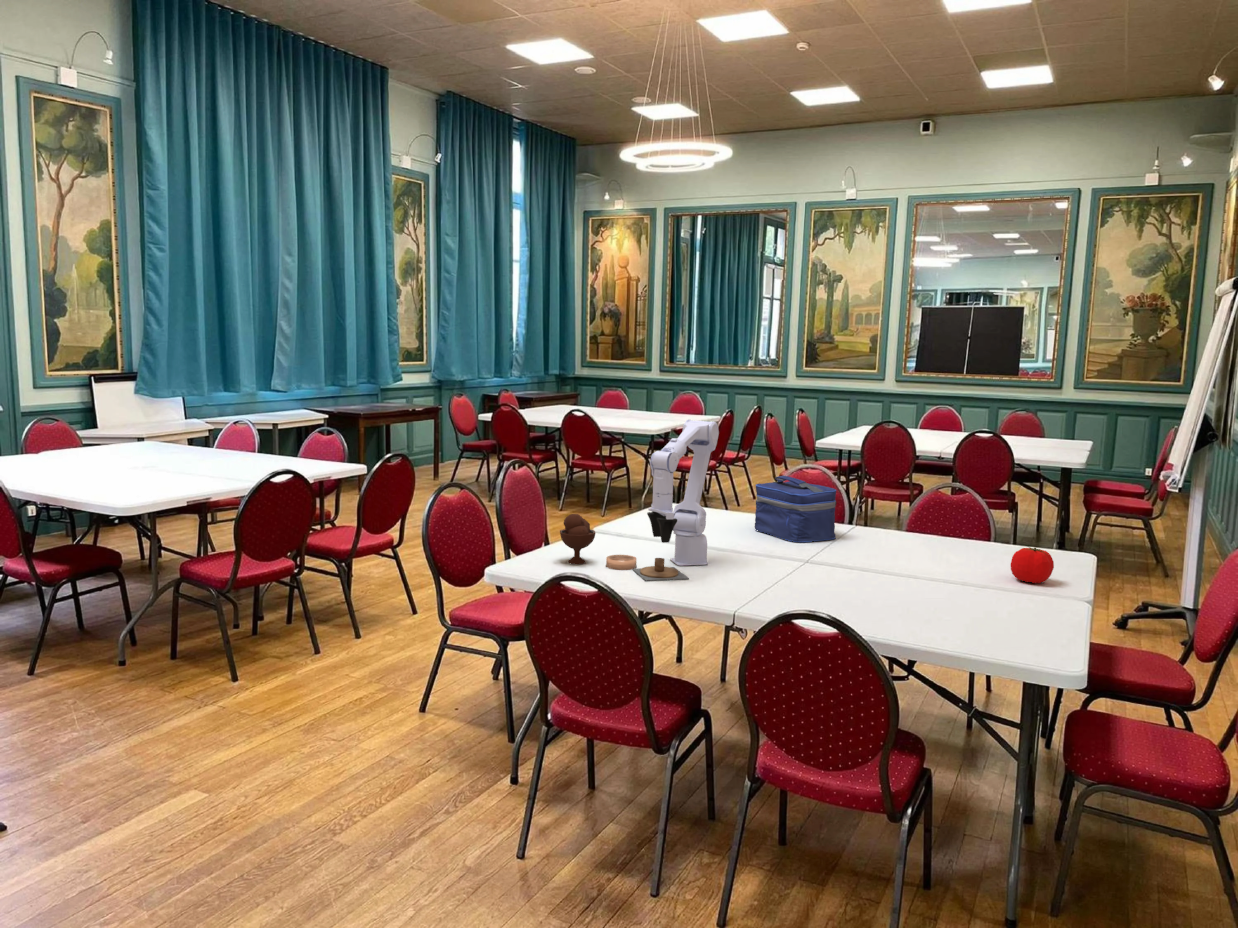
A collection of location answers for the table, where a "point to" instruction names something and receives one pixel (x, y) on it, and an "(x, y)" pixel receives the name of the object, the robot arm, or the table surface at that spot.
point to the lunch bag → (795, 510)
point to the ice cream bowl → (577, 536)
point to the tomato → (1032, 565)
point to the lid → (659, 570)
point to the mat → (678, 577)
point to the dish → (621, 562)
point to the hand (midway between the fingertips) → (661, 539)
